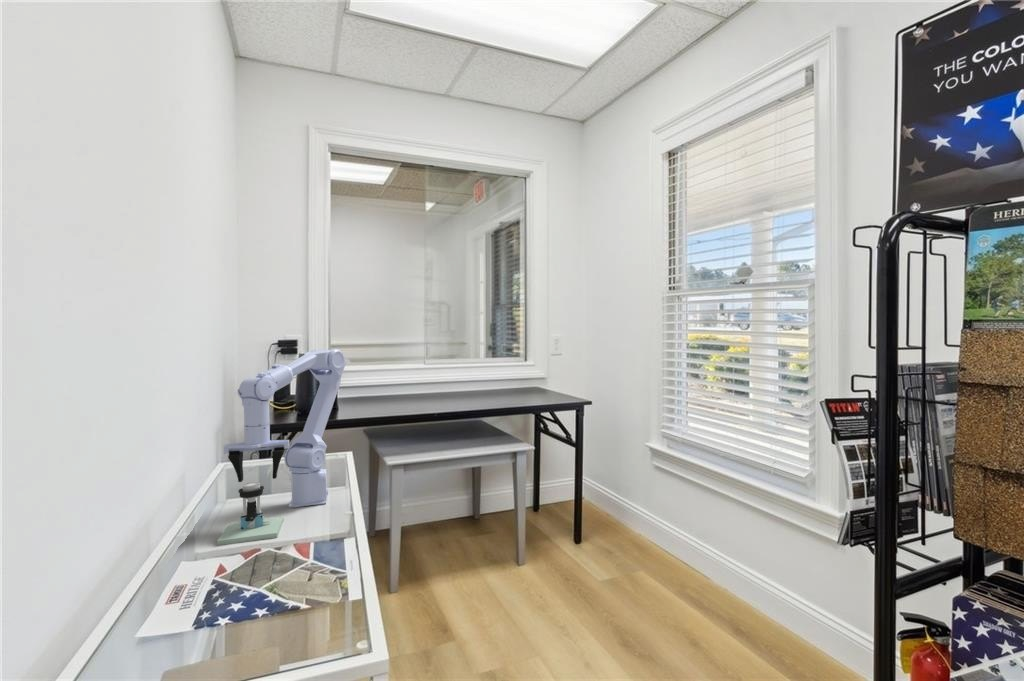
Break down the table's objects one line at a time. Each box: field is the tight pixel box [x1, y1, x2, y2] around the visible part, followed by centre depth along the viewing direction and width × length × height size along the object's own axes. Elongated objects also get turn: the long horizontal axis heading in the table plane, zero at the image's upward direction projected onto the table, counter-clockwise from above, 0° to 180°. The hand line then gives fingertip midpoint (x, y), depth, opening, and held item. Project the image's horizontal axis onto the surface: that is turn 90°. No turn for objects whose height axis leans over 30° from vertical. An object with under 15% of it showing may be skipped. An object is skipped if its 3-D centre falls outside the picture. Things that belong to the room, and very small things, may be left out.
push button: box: [237, 482, 272, 530], centre depth 117 cm, size 7×5×10 cm
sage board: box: [216, 516, 285, 546], centre depth 116 cm, size 12×12×1 cm
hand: (257, 479), depth 124 cm, fingers open, 7 cm apart
